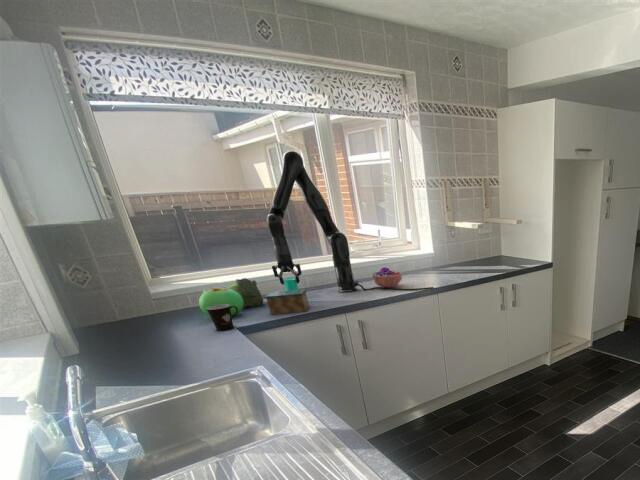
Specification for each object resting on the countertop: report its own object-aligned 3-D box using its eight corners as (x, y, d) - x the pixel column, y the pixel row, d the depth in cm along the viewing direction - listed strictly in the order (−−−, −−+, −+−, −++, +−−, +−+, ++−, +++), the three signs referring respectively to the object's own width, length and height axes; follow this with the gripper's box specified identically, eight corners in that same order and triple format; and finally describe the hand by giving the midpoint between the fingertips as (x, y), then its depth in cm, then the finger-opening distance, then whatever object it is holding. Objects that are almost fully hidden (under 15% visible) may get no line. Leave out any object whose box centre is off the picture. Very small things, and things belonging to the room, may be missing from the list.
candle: (292, 299, 234) (286, 277, 229) (286, 298, 237) (280, 276, 232) (302, 297, 239) (297, 275, 234) (295, 295, 242) (290, 274, 237)
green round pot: (200, 323, 197) (189, 292, 190) (209, 314, 211) (199, 285, 204) (244, 318, 202) (234, 288, 196) (250, 309, 217) (241, 281, 210)
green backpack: (223, 306, 222) (214, 278, 215) (264, 302, 230) (257, 275, 222) (221, 313, 214) (211, 284, 206) (264, 309, 221) (256, 281, 214)
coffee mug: (215, 333, 183) (208, 310, 178) (212, 328, 189) (204, 307, 184) (245, 327, 189) (239, 305, 185) (241, 323, 195) (235, 302, 191)
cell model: (377, 292, 245) (373, 272, 240) (372, 285, 261) (369, 267, 256) (406, 288, 251) (403, 269, 246) (399, 282, 267) (397, 264, 262)
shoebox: (310, 306, 220) (305, 289, 216) (306, 311, 211) (301, 293, 207) (275, 309, 216) (270, 291, 213) (270, 314, 207) (265, 296, 203)
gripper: (298, 251, 232) (305, 281, 239) (270, 253, 229) (278, 283, 236) (295, 253, 226) (303, 284, 233) (266, 255, 223) (274, 286, 230)
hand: (290, 283), depth 235 cm, fingers open, 7 cm apart
